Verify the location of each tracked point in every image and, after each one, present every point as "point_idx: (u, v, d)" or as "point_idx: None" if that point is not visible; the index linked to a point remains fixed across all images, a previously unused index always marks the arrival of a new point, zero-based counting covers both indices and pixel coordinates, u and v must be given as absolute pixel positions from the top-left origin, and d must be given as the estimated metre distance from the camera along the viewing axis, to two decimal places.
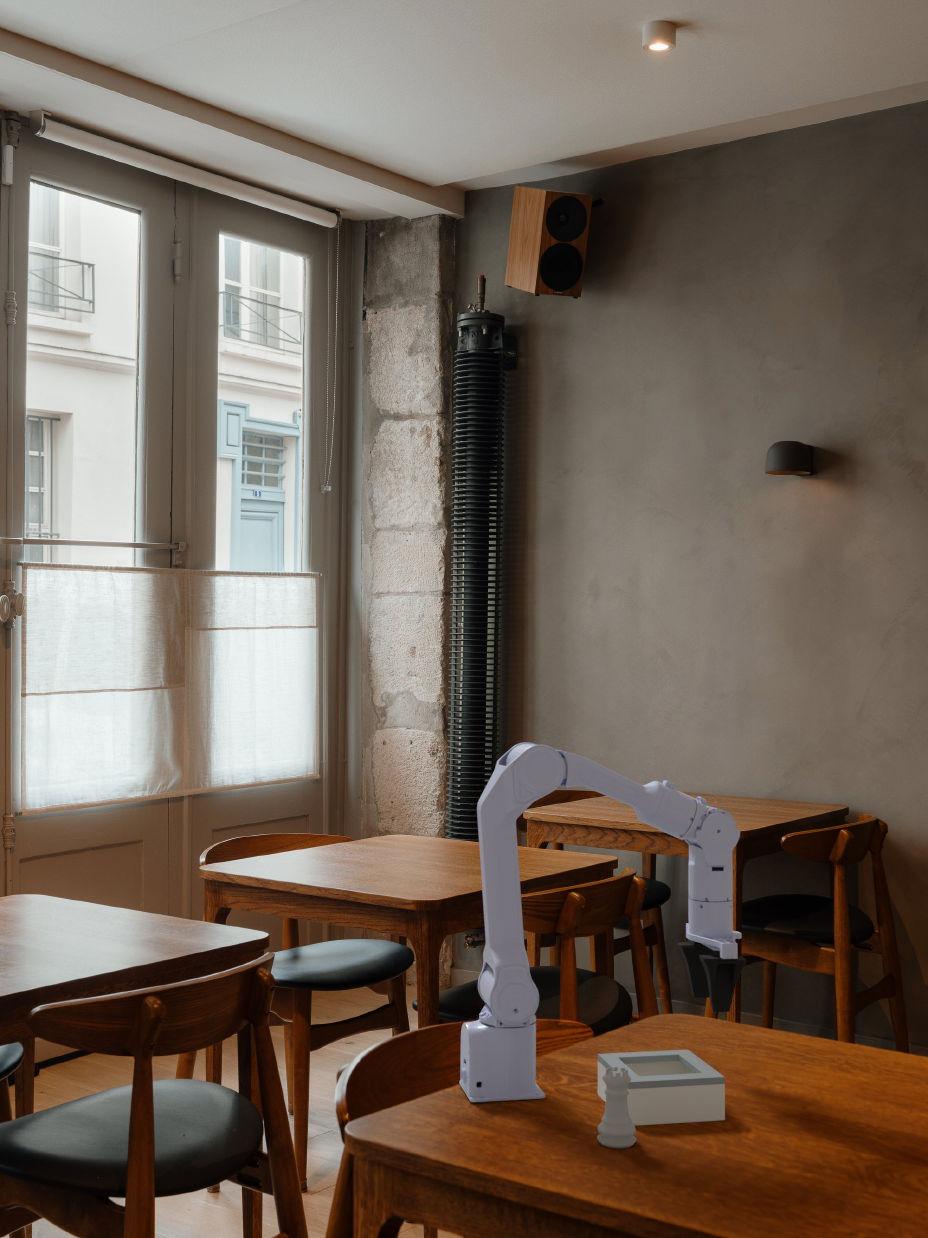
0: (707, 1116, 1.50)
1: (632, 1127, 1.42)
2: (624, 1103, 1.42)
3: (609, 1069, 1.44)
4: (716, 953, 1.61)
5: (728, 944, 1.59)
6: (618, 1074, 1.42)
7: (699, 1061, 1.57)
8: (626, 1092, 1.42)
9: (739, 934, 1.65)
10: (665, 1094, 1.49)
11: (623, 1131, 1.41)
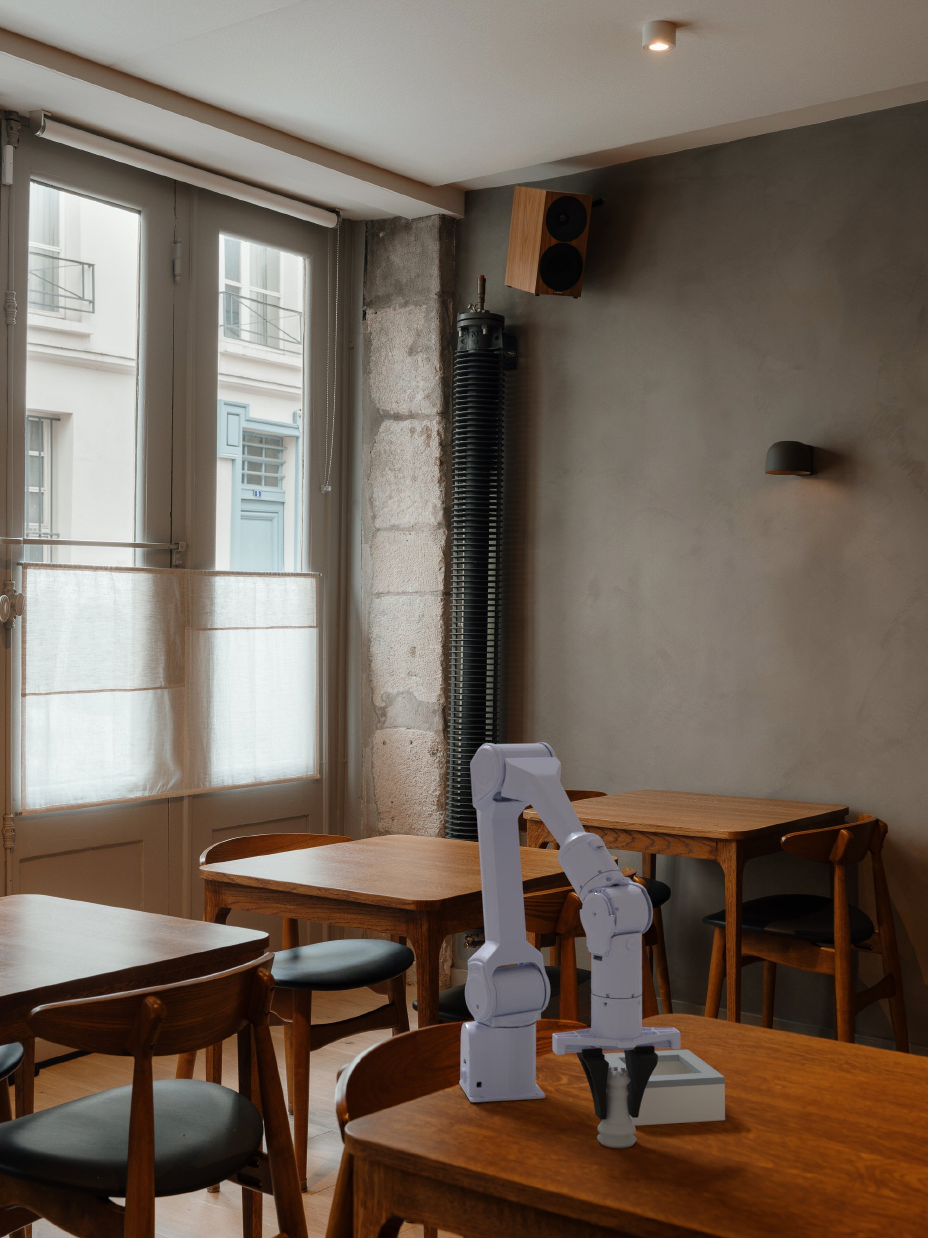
0: (707, 1116, 1.50)
1: (632, 1127, 1.42)
2: (624, 1103, 1.42)
3: (609, 1069, 1.43)
4: None
5: (554, 1036, 1.42)
6: (618, 1074, 1.42)
7: (699, 1061, 1.57)
8: (626, 1092, 1.42)
9: (618, 1042, 1.39)
10: (665, 1094, 1.49)
11: (623, 1131, 1.41)
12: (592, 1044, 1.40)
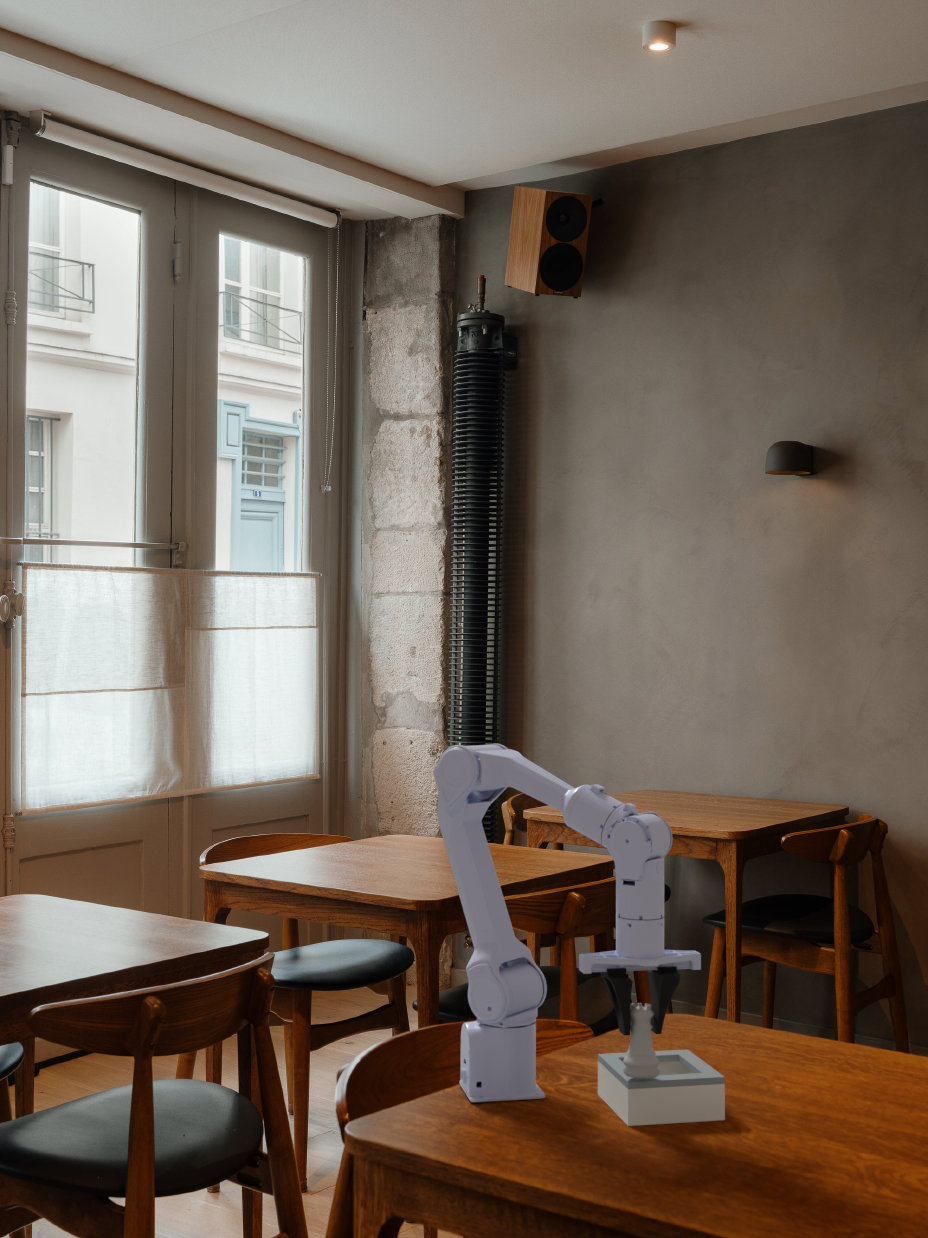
0: (707, 1116, 1.50)
1: (656, 1059, 1.48)
2: (647, 1035, 1.48)
3: (634, 1004, 1.51)
4: None
5: (580, 956, 1.49)
6: (641, 1007, 1.49)
7: (699, 1061, 1.57)
8: (649, 1025, 1.49)
9: (642, 961, 1.47)
10: (665, 1094, 1.49)
11: (646, 1061, 1.47)
12: (617, 963, 1.48)
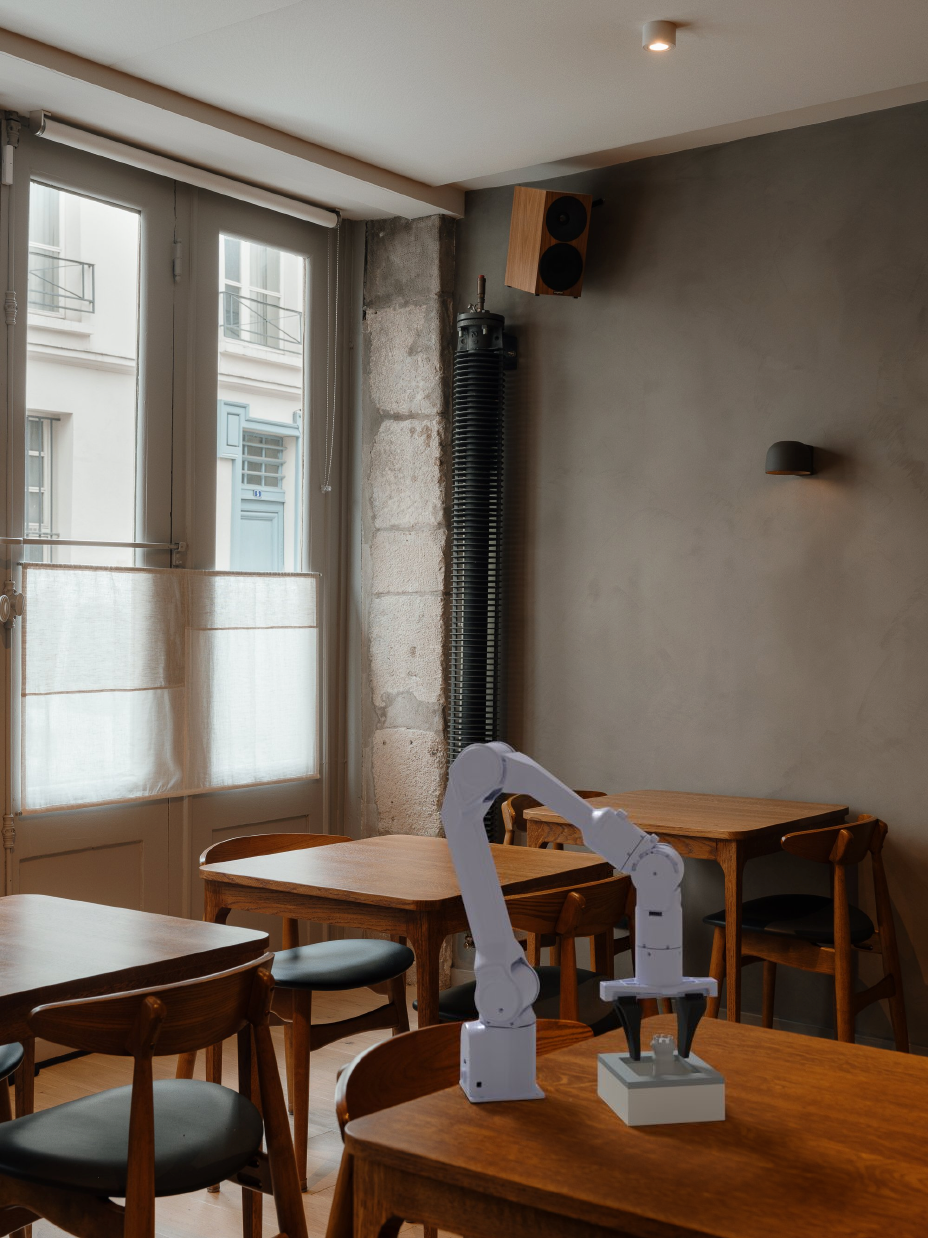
0: (707, 1116, 1.50)
1: None
2: (669, 1067, 1.53)
3: (657, 1036, 1.55)
4: None
5: (601, 984, 1.55)
6: (664, 1040, 1.53)
7: (699, 1061, 1.57)
8: (672, 1057, 1.54)
9: (661, 989, 1.52)
10: (665, 1094, 1.49)
11: None
12: (637, 991, 1.53)
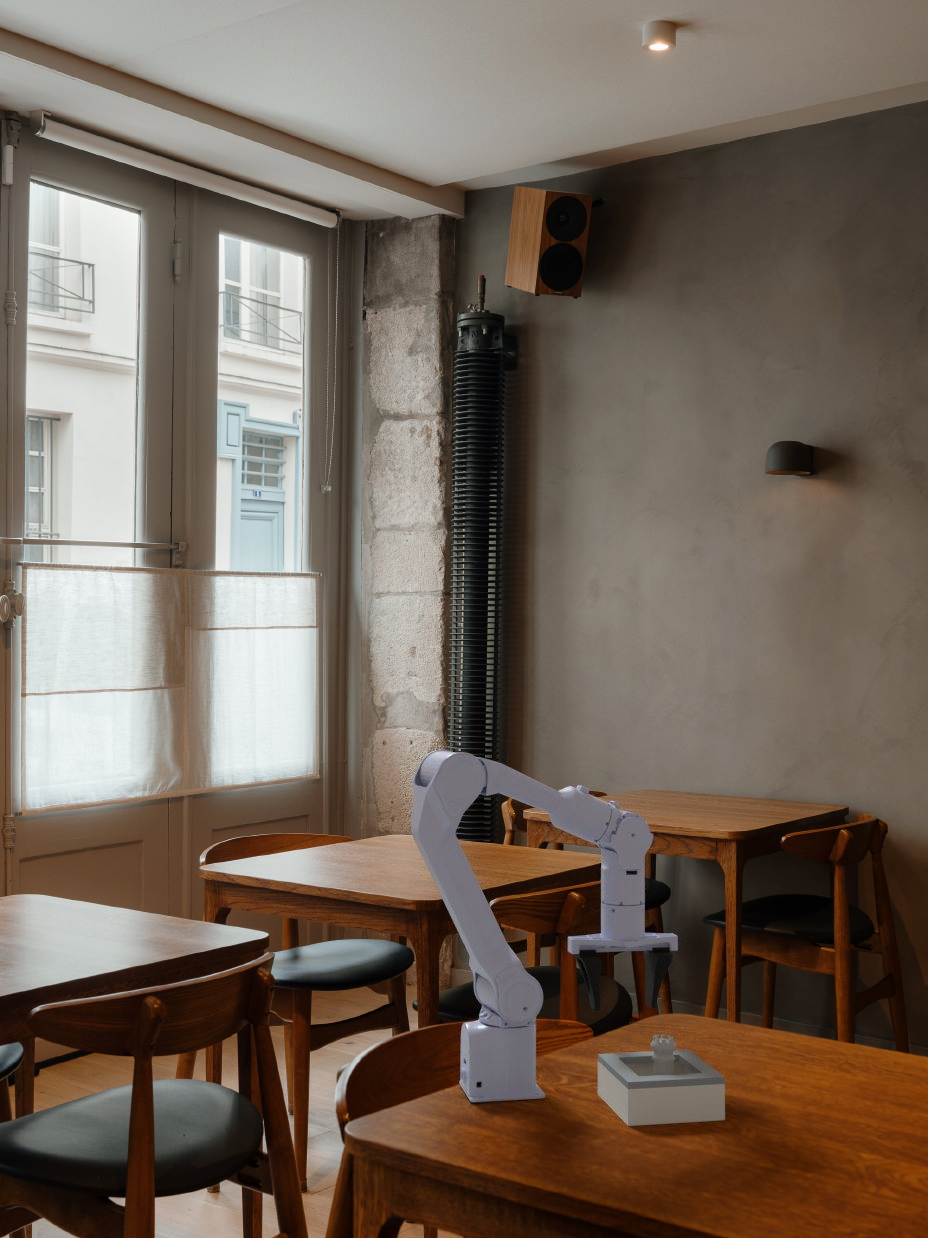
0: (707, 1116, 1.50)
1: None
2: (669, 1067, 1.53)
3: (657, 1036, 1.55)
4: None
5: (569, 938, 1.65)
6: (664, 1041, 1.53)
7: (699, 1061, 1.57)
8: (672, 1058, 1.54)
9: (624, 942, 1.63)
10: (665, 1094, 1.49)
11: None
12: (602, 944, 1.64)
